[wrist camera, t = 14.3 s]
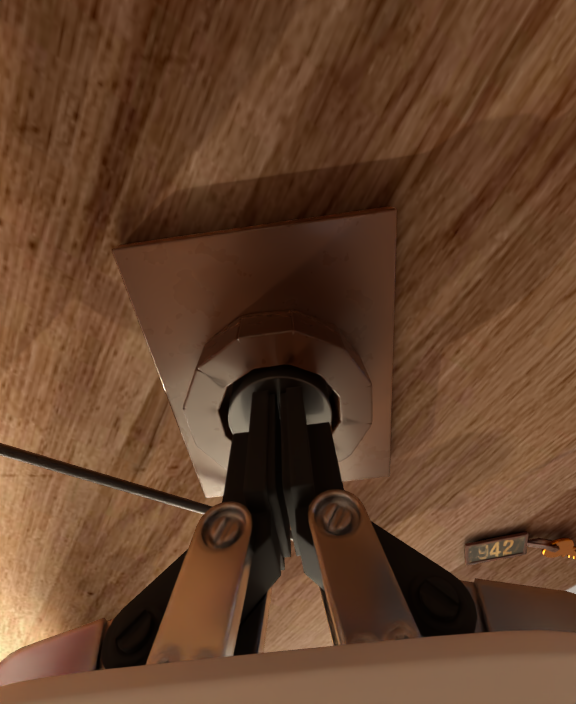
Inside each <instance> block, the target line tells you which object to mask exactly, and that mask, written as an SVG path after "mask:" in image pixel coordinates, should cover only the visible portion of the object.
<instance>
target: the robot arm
mask: <svg viewBox="0 0 576 704" xmlns="http://www.w3.org/2000/svg"><path fill="white" fill-rule="evenodd" d="M280 409H281V420H280V415H279V409H278V404H277V398H276V394H270V392H269V390H266V391H258V392H253V394H252V403H251V413H250V423H249V432H242V433H234V434H233V437H232V443H231V449H230V455H229V462H228V468H227V475H226V481H225V488H224V494H223V500H222V503H220V504H217V505H215V506H213V507H212V508H210V509H209V510H208V511H207V512H206V513H205V514H204V515H203V516H202V517H201V519H200V520H199V522H198V524H197V526H196V529H195V532H194V534H193V537H192V540H191V543H190V545H189V548H188V550H187V551H185V552H184V553H183V554H182V555H181V556H180V557H179V558H178V559H177V560H176V561H175V562H173V563H172V564H171V565H170V566H169V567H168V568H167V569H166V570H165V571H164V572H163V573H161V574H160V575H159V576H158V577H157V578H156V579H155V580H154V581H153V582H152V583H151V584H149V585H148V586H147V587H146V588H145V589H144V590H143V591H142V592H141V593H140V594H139V595H137V596H136V597H135V598H134V599H133V600H132V601H131V602H130V603H129V604H128V605H127V606H125V607H124V608H123V609H122V610H121V612H120V613H119V614H118V615H117V616H116V617H115V618H114V619H111V620H109V621H107V620H106V619H105V618H102V619H99V620H96V621H94V622H91V623H88V624H85V625H83V626H80V627H77V628H74V629H72V630H69V631H66V632H63V633H61V634H58V635H55V636H52V637H50V638H47V639H44V640H41V641H39V642H36V643H33V644H30V645H28V646H25V647H22V648H20V649H18V650H16V651H15V652H13V653H11V654H9V655H8V656H7V657H6V658H5V659H4V660H2V661H1V662H0V704H576V594H574V593H571V592H567V591H561V590H554V589H547V588H540V587H533V586H526V585H518V584H511V583H504V582H497V581H490V580H483V579H476V578H475V581H474V582H468V581H461V580H459V579H458V578H456V577H455V576H454V575H453V574H451V573H450V572H448V571H447V570H445V569H444V568H442V567H441V566H439V565H438V564H436V563H435V562H433V561H431V560H430V559H428V558H427V557H425V556H424V555H422V554H421V553H419V552H418V551H416V550H415V549H413V548H411V547H410V546H408V545H407V544H405V543H404V542H402V541H401V540H399V539H398V538H396V537H395V536H393V535H391V534H390V533H388V532H387V531H385V530H384V529H382V528H381V527H379V526H378V525H376V524H375V523H373V522H371V521H370V518H369V516H368V514H367V512H366V509H365V507H364V505H363V504H362V502H361V501H360V499H358V498H357V497H356V496H355V495H354V494H352V493H350V492H348V491H345V490H344V488H343V483H342V479H341V474H340V469H339V464H338V460H337V455H336V450H335V446H334V441H333V436H332V431H331V427H330V423H329V422H324V423H316V424H308V425H307V423H306V415H305V408H304V400H303V393H302V386H298V387H290V388H286V392H284V393H280ZM290 527H291V532H292V537H293V542H294V546H295V551H296V556H301V559H302V565H303V570H304V573H305V574H306V575H307V576H308V577H309V578H311V579H312V580H313V581H314V582H315V583H316V584H317V585H318V586H319V590H320V594H321V598H322V602H323V607H324V611H325V615H326V619H327V623H328V627H329V631H330V635H331V639H332V643H333V646H328V647H318V648H308V649H298V650H288V651H278V652H268V653H264V646H265V639H266V631H267V624H268V617H269V610H270V603H271V595H272V585H273V584H274V583H275V582H276V580H277V579H278V578H279V577H280V576H281V570H285V563H284V557H291V541H290Z"/></svg>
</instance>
